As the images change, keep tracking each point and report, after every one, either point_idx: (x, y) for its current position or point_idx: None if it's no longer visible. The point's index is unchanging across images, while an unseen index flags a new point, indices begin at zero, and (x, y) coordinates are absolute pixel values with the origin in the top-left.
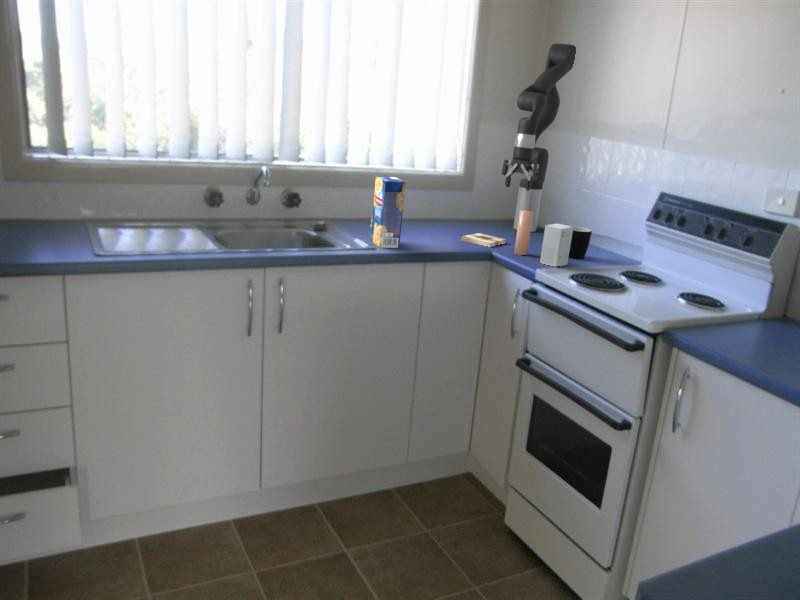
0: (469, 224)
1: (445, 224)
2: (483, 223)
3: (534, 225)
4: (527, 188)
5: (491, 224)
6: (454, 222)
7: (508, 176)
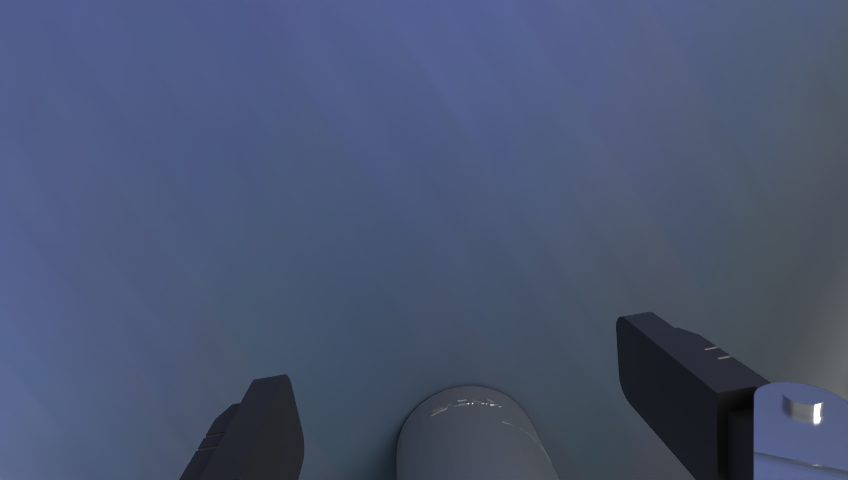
0: (735, 215)
1: (821, 33)
2: None
3: (397, 474)
4: (249, 391)
5: None
6: (825, 162)
7: (753, 422)
